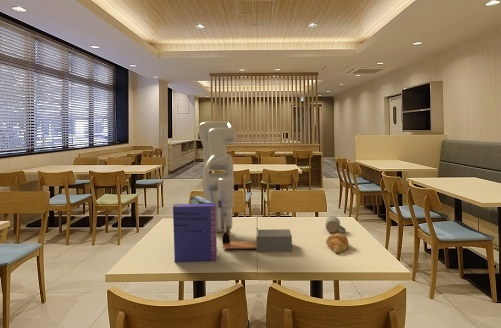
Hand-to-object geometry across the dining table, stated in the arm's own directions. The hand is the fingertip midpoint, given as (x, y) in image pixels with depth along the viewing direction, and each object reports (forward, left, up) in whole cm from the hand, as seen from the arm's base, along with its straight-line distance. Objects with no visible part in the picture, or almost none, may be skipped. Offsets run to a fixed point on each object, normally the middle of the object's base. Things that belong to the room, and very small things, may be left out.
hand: (226, 242), depth 173 cm
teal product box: (-12, +2, -3) cm, 12 cm away
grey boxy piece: (+22, 0, -3) cm, 22 cm away
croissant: (+52, 0, -3) cm, 52 cm away
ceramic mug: (+57, +27, -3) cm, 63 cm away
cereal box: (-12, -16, -3) cm, 20 cm away
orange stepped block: (+6, 0, -2) cm, 7 cm away
